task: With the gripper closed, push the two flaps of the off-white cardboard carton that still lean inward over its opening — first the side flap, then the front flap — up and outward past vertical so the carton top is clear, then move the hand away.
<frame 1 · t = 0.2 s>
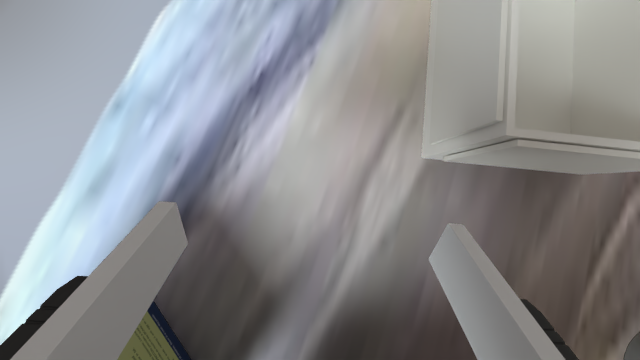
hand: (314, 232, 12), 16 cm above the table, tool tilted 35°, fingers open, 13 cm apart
carton: (498, 76, 30), on the table
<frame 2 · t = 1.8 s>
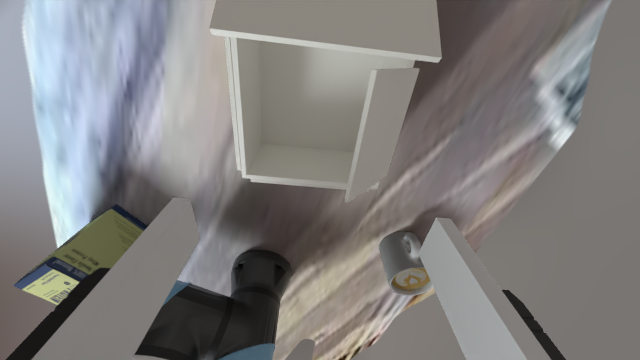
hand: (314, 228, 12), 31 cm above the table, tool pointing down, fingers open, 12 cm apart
coffee mug: (401, 240, 56), on the table
protein box: (133, 233, 54), on the table
carton: (319, 81, 37), on the table
side flap: (381, 136, 24), point 16 cm above the table, hinge at -42.0°
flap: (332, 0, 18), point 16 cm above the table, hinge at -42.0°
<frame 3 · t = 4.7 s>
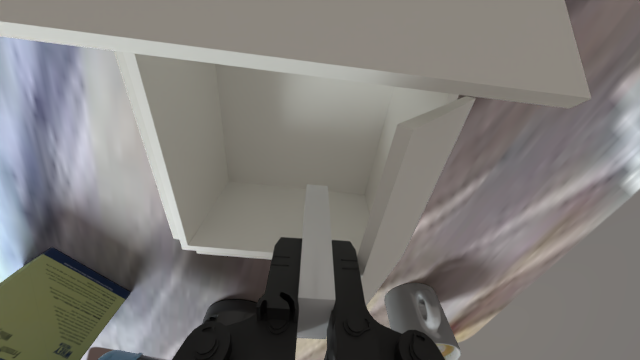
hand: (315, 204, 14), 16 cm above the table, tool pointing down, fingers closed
coffee mug: (412, 292, 45), on the table
protein box: (80, 278, 44), on the table
carton: (305, 101, 26), on the table
side flap: (401, 221, 13), point 16 cm above the table, hinge at -40.7°, touching gripper
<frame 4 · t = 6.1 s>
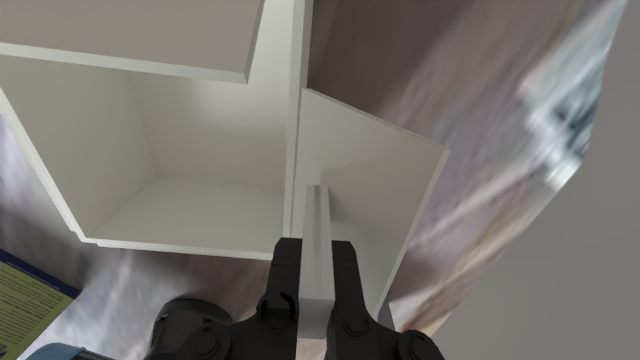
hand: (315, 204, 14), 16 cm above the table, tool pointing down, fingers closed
coffee mug: (363, 291, 45), on the table
protein box: (28, 278, 44), on the table
carton: (221, 98, 26), on the table
side flap: (334, 219, 14), point 17 cm above the table, hinge at 33.1°, touching gripper
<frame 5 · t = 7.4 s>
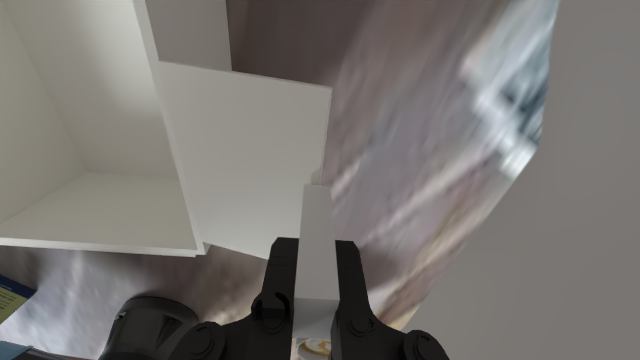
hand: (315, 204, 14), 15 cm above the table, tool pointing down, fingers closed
coffee mug: (327, 285, 44), on the table
carton: (141, 84, 24), on the table
side flap: (249, 184, 15), point 14 cm above the table, hinge at 76.3°, touching gripper
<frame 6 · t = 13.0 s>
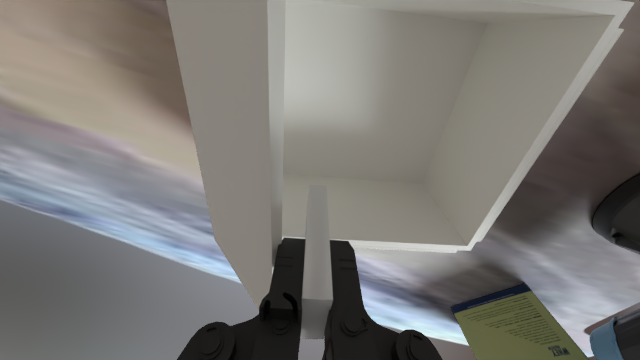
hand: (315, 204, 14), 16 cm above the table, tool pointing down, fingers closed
protein box: (489, 305, 51), on the table
carton: (352, 106, 26), on the table
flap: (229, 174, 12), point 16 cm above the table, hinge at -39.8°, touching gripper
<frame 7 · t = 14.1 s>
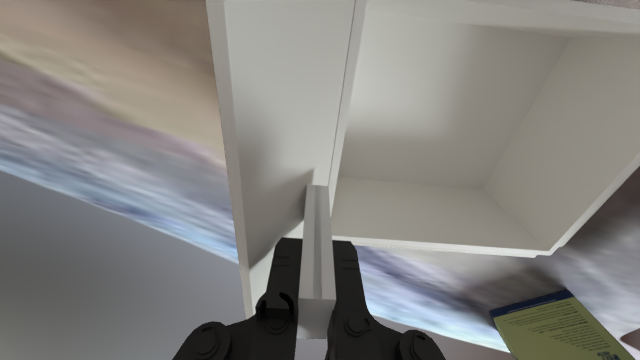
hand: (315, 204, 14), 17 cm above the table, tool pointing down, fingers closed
protein box: (528, 310, 51), on the table
carton: (424, 114, 28), on the table
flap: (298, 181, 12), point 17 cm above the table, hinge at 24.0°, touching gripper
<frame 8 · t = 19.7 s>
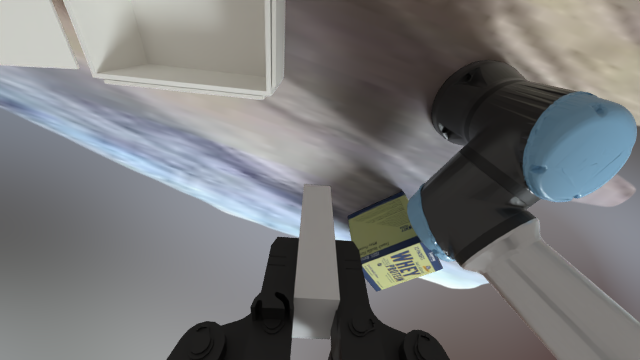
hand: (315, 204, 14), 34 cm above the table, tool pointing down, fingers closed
protein box: (381, 216, 60), on the table
carton: (208, 7, 36), on the table
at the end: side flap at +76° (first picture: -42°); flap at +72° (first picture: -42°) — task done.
